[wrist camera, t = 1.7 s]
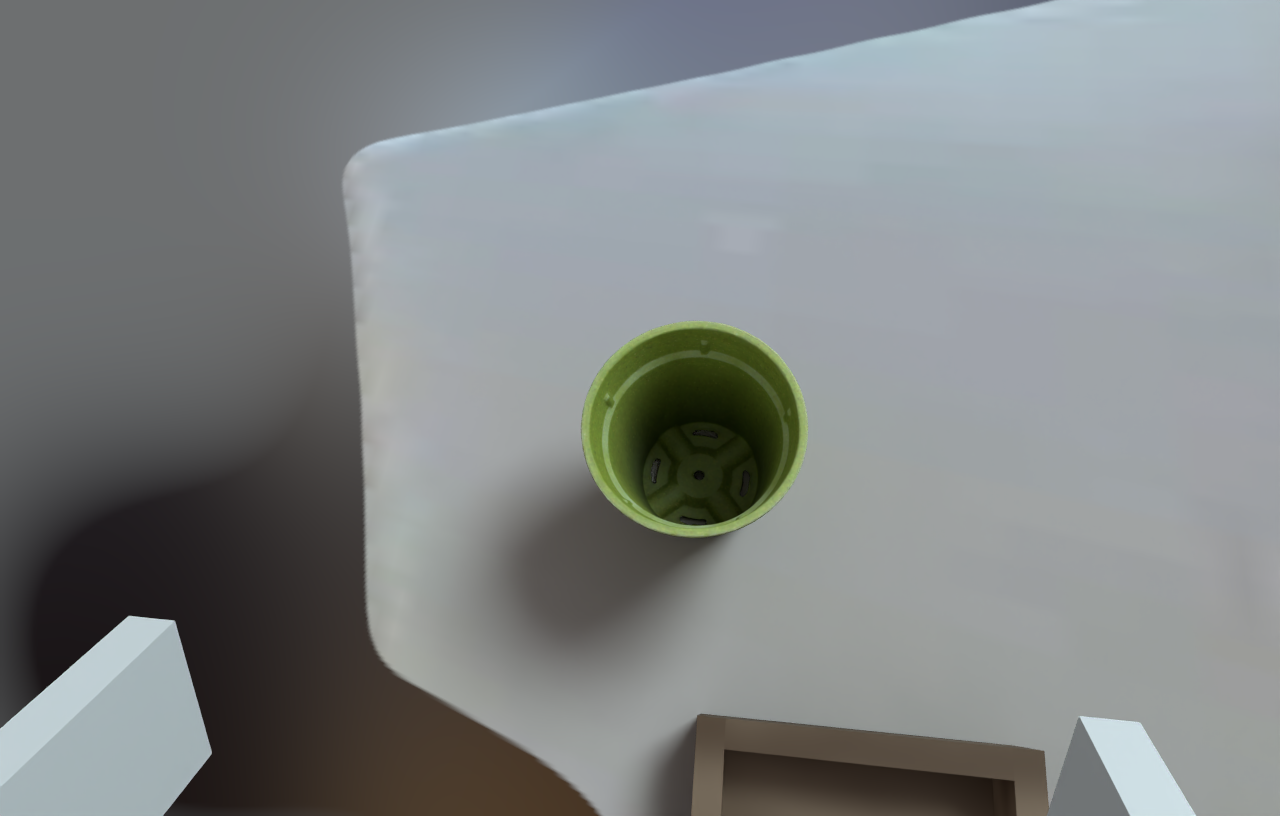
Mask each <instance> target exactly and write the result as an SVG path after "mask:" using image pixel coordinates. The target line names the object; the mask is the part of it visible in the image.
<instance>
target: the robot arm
mask: <svg viewBox="0 0 1280 816" xmlns="http://www.w3.org/2000/svg"><path fill="white" fill-rule="evenodd" d="M211 754H212V752H211V748H210V745H209V741H208V738H207V734H206V730H205V727H204V723H203V720H202V716H201V713H200V709H199V705H198V702H197V698H196V695H195V691H194V688H193V684H192V681H191V677H190V674H189V670H188V667H187V663H186V659H185V656H184V652H183V648H182V645H181V641H180V638H179V634H178V631H177V627H176V624H175V621H171V620H162V619H152V618H143V617H134V616H128V617H127V618H126V619H125V620H124V621H123V622H121V623H120V624H119V625H118V626H117V627H116V628H115V629H113V630H112V631H111V632H110V633H109V634H108V635H107V636H106V637H104V638H103V639H102V640H101V641H100V642H99V643H97V644H96V645H95V646H94V647H93V648H92V649H91V650H89V651H88V652H87V653H86V654H85V655H84V656H83V657H81V659H79V660H78V661H77V662H76V663H75V664H74V665H72V666H71V667H70V668H69V669H68V670H67V671H66V672H64V673H63V674H62V675H61V676H60V677H59V678H58V679H57V680H55V681H54V682H53V683H52V684H51V685H50V686H49V687H47V688H46V689H45V690H44V691H43V692H42V693H40V694H39V695H38V696H37V697H36V698H35V699H34V700H33V701H31V702H30V703H29V704H28V705H27V706H26V707H25V708H24V709H22V710H21V711H20V712H19V713H18V714H17V715H16V716H14V717H13V718H12V719H11V720H10V721H9V722H7V723H6V724H5V725H4V726H3V727H2V728H1V729H0V816H163V815H164V813H165V812H166V811H167V810H168V808H169V807H170V806H171V805H172V803H173V802H174V801H175V800H176V798H177V797H178V796H179V794H180V793H181V792H182V791H183V789H184V788H185V787H186V786H187V784H188V783H189V782H190V780H191V779H192V778H193V777H194V775H195V774H196V773H197V772H198V770H199V769H200V768H201V767H202V765H203V764H204V763H205V761H206V760H207V759H208V758H209V756H210V755H211ZM1047 816H1196V815H1195V813H1194V812H1193V810H1192V808H1191V807H1190V805H1189V803H1188V802H1187V800H1186V798H1185V797H1184V795H1183V793H1182V792H1181V790H1180V788H1179V787H1178V785H1177V783H1176V782H1175V780H1174V778H1173V777H1172V775H1171V773H1170V772H1169V770H1168V768H1167V767H1166V765H1165V763H1164V762H1163V760H1162V758H1161V757H1160V755H1159V753H1158V752H1157V750H1156V748H1155V747H1154V745H1153V743H1152V742H1151V740H1150V738H1149V737H1148V735H1147V733H1146V732H1145V730H1144V728H1143V727H1142V725H1141V723H1140V722H1131V721H1122V720H1112V719H1103V718H1093V717H1084V716H1079V718H1078V721H1077V724H1076V727H1075V730H1074V733H1073V737H1072V740H1071V743H1070V746H1069V749H1068V752H1067V755H1066V758H1065V761H1064V764H1063V767H1062V770H1061V774H1060V777H1059V780H1058V783H1057V786H1056V789H1055V792H1054V795H1053V798H1052V801H1051V804H1050V807H1049V811H1048V814H1047Z"/></svg>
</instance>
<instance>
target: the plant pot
mask: <svg viewBox="0 0 1280 816" xmlns="http://www.w3.org/2000/svg"><path fill="white" fill-rule="evenodd" d="M695 430H709V431H713V432H715V433H716V434H717V435H718V438H716V439H715V438H711V437H708V436H701V435H693V432H694V431H695ZM581 439H582V446H583V451H584V456H585V459H586V463H587V466H588V468H589V471H590V473H591V475H592V477H593V479H594V481H595V482H596V484H597V486H598V487H599V489H600V490H601V492H602V493H603V494H604V496H605V497H606V498H607V499H608V500H609V502H610V503H611V504H612V505H613V506H615V507H616V508H617V509H618V510H619V511H620V512H621V513H623V514H624V515H625V516H627V517H628V518H629V519H631V520H633V521H634V522H636V523H637V524H640V525H642V526H644V527H646V528H648V529H650V530H653V531H656V532H659V533H663V534H666V535H671V536H676V537H687V538H704V537H711V536H718V535H722V534H726V533H729V532H732V531H735V530H738V529H740V528H743V527H745V526H747V525H749V524H751V523H753V522H755V521H756V520H758V519H759V518H761V517H762V516H763V515H765V514H766V513H767V512H769V511H770V510H771V509H772V508H773V507H774V506H775V505H776V504H777V503H778V502H779V501H780V500H781V499H782V498H783V497H784V495H785V494H786V493H787V492H788V490H789V489H790V487H791V486H792V484H793V483H794V481H795V479H796V477H797V475H798V473H799V471H800V468H801V465H802V463H803V460H804V456H805V452H806V447H807V439H808V419H807V412H806V406H805V402H804V399H803V396H802V393H801V390H800V387H799V385H798V383H797V381H796V379H795V377H794V375H793V374H792V372H791V371H790V369H789V368H788V367H787V365H786V364H785V363H784V361H783V360H782V359H781V357H780V356H779V355H778V354H777V353H776V352H775V351H774V350H772V349H771V348H770V347H769V346H768V345H766V344H765V343H764V342H763V341H761V340H760V339H758V338H756V337H755V336H753V335H751V334H749V333H747V332H745V331H743V330H740V329H738V328H735V327H733V326H729V325H726V324H722V323H715V322H707V321H685V322H678V323H673V324H668V325H664V326H661V327H658V328H655V329H652V330H649V331H647V332H646V333H643V334H641V335H639V336H638V337H636V338H634V339H632V340H631V341H630V342H628V343H627V344H625V345H624V346H623V347H621V348H620V349H619V350H618V351H617V352H616V353H614V354H613V355H612V356H611V357H610V358H609V359H608V361H607V362H606V363H605V364H604V365H603V367H602V368H601V370H600V371H599V372H598V374H597V376H596V377H595V379H594V381H593V383H592V385H591V387H590V390H589V392H588V394H587V397H586V400H585V403H584V408H583V414H582V422H581ZM657 458H658V459H660V460H661V463H660V465H659V469H658V472H657V478H656V483H655V484H654V483H653V482H652V479H651V468H652V465H653V462H654V461H655V460H656V459H657ZM745 470H746V471H747V472H748V473H749V475H750V481H749V487H748V491H747V493H746V495H744V496H741V495H740V491H741V487H742V483H743V476H742V474H743V471H745ZM696 471H702V472H703V473H704V478H703V479H702V480H699V479H696V478H695V477H694V474H695V472H696ZM681 516H685V517H687V518H692V519H705V520H706V521H707V523H706V524H705V525H703V526H702V525H697V524H692V525H688V524H685V523H683V522H681V521H680V517H681Z"/></svg>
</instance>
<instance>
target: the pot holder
mask: <svg viewBox="0 0 1280 816" xmlns="http://www.w3.org/2000/svg"><path fill="white" fill-rule="evenodd" d="M1048 811H1049V805H1048V792H1047V780H1046V767H1045V754H1044V751H1041V750H1036V749H1030V748H1024V747H1018V746H1011V745H1001V744H992V743H982V742H972V741H962V740H952V739H943V738H933V737H923V736H913V735H903V734H894V733H884V732H874V731H864V730H854V729H845V728H835V727H825V726H815V725H805V724H796V723H786V722H776V721H766V720H757V719H747V718H737V717H727V716H717V715H708V714H700V715H697V729H696V745H695V761H694V777H693V793H692V809H691V816H1047V814H1048Z"/></svg>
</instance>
